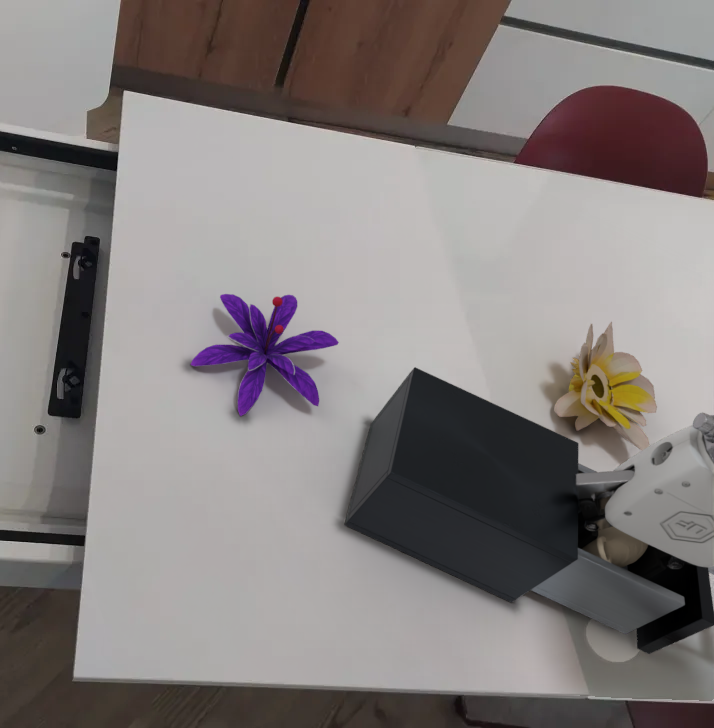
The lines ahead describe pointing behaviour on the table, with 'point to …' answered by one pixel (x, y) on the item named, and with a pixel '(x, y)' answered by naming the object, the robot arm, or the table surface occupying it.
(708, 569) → the drawer with silver handle
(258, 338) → the decorative flower
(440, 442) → the cabinet
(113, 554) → the table surface
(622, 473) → the robot arm
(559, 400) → the decorative flower
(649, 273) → the table surface
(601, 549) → the decorative ornament
